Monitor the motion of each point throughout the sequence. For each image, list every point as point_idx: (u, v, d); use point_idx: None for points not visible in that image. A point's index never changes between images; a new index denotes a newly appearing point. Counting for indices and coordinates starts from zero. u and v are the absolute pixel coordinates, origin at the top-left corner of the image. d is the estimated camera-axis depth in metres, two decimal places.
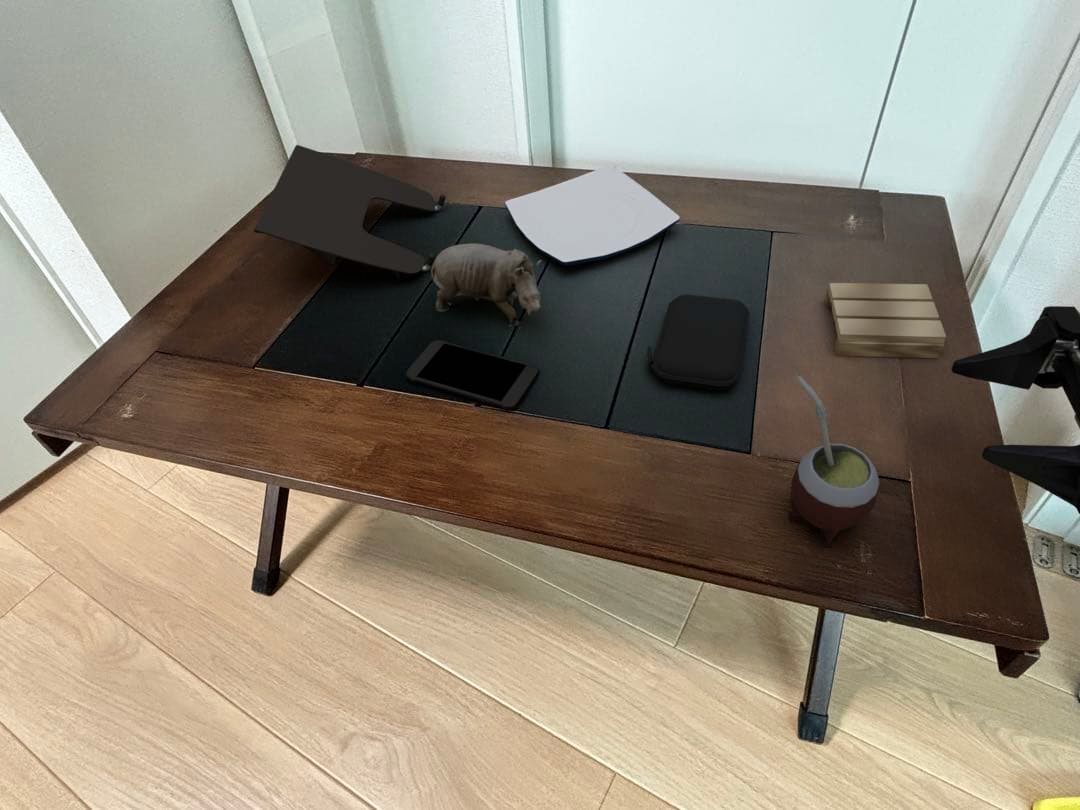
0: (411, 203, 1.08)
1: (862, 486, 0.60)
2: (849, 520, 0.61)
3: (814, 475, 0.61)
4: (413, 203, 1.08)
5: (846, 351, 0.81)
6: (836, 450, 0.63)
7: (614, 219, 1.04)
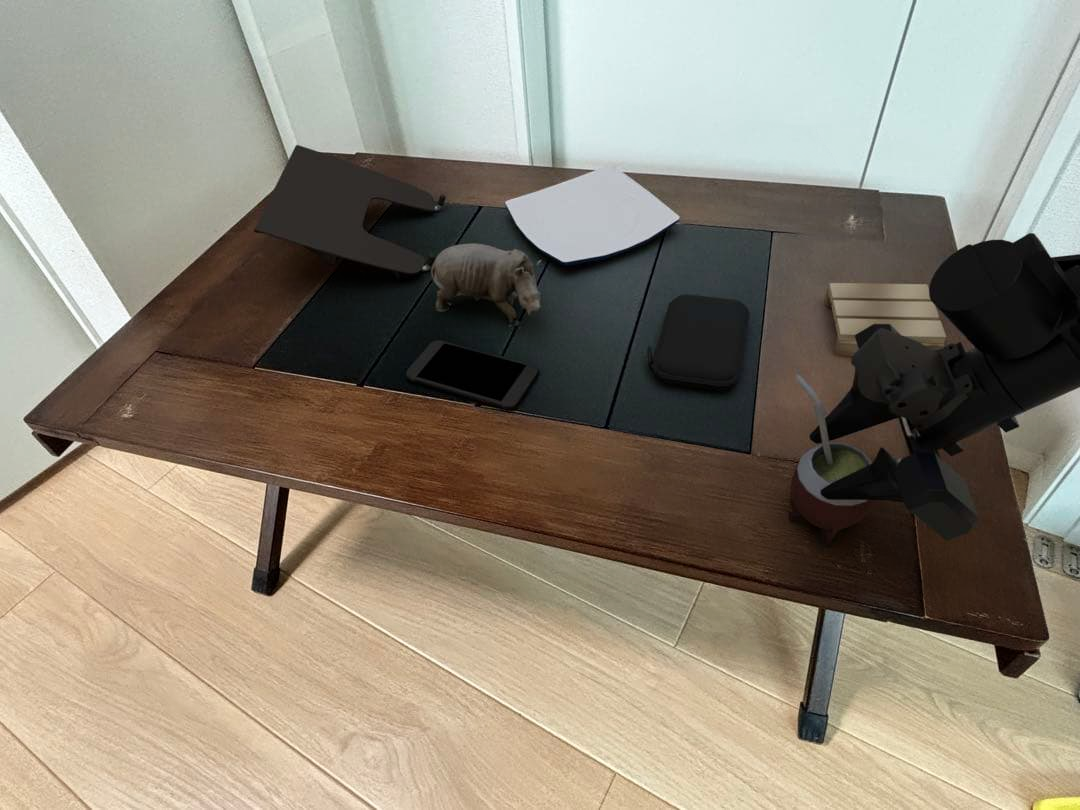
0: (411, 203, 1.08)
1: None
2: (849, 519, 0.61)
3: (813, 473, 0.61)
4: (413, 203, 1.08)
5: (846, 351, 0.81)
6: (835, 449, 0.63)
7: (614, 219, 1.04)
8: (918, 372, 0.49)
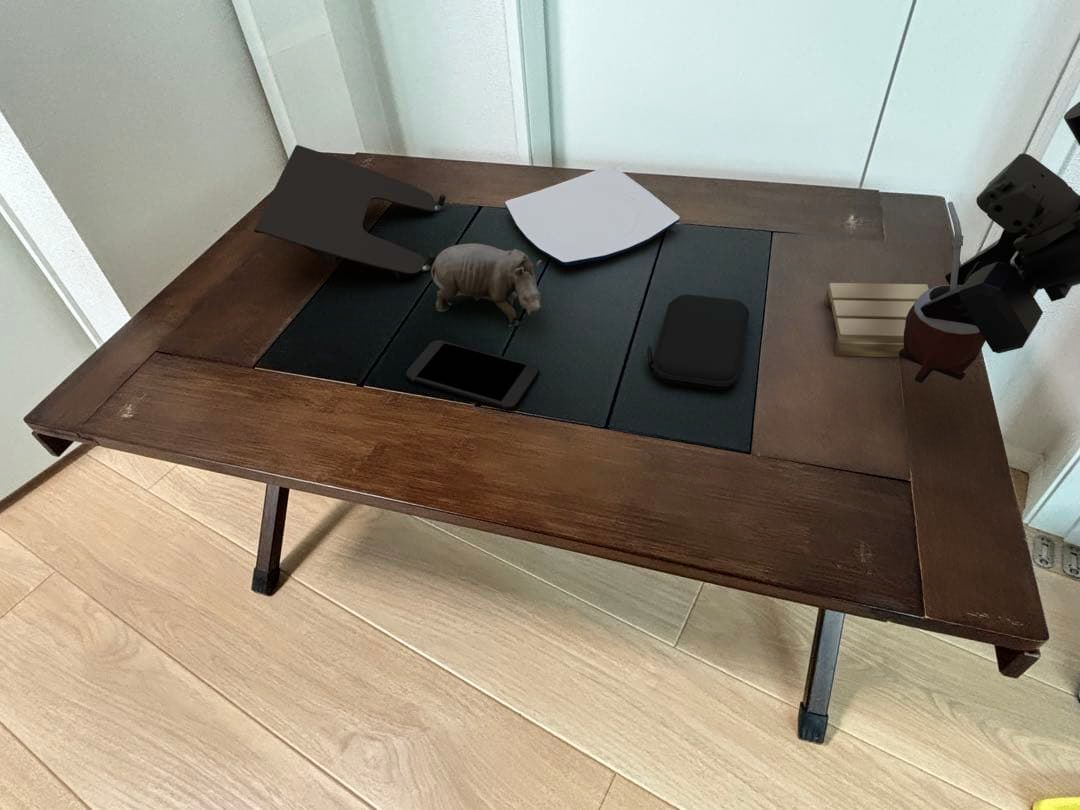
0: (411, 203, 1.08)
1: None
2: (939, 346, 0.66)
3: (926, 297, 0.67)
4: (413, 203, 1.08)
5: (846, 351, 0.81)
6: None
7: (614, 219, 1.04)
8: (1026, 182, 0.54)
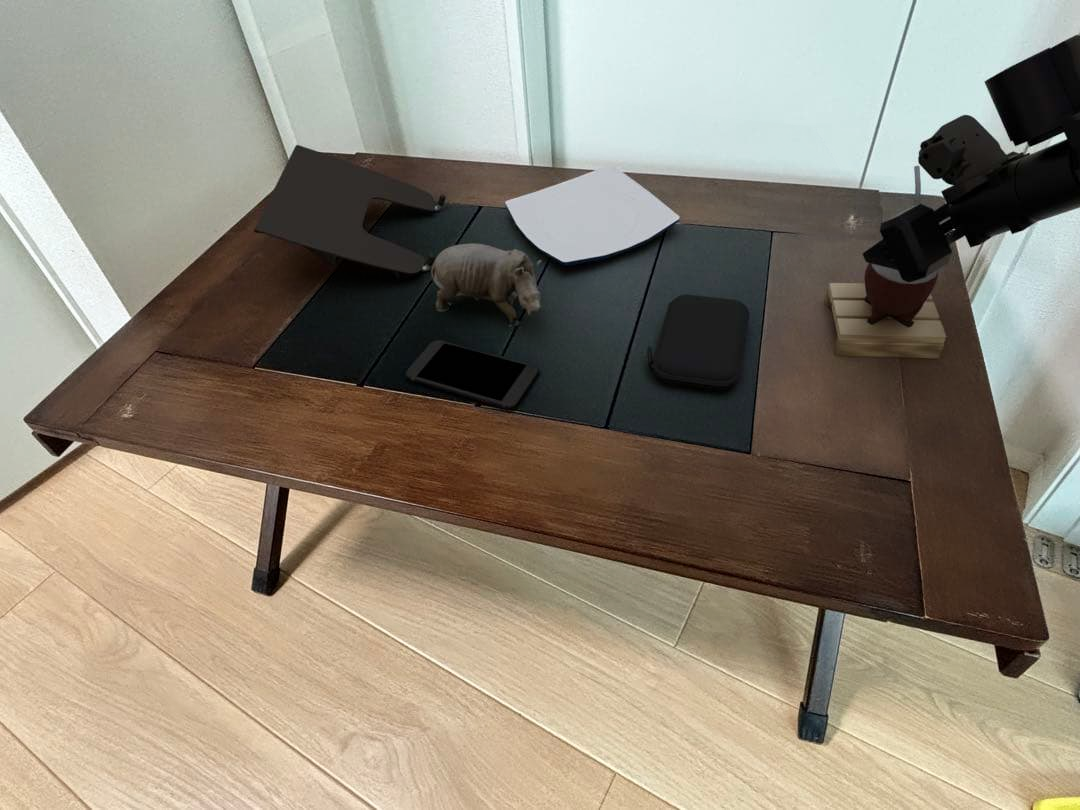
0: (411, 203, 1.08)
1: None
2: (883, 292, 0.76)
3: None
4: (413, 203, 1.08)
5: (846, 351, 0.81)
6: None
7: (614, 219, 1.04)
8: (951, 136, 0.64)
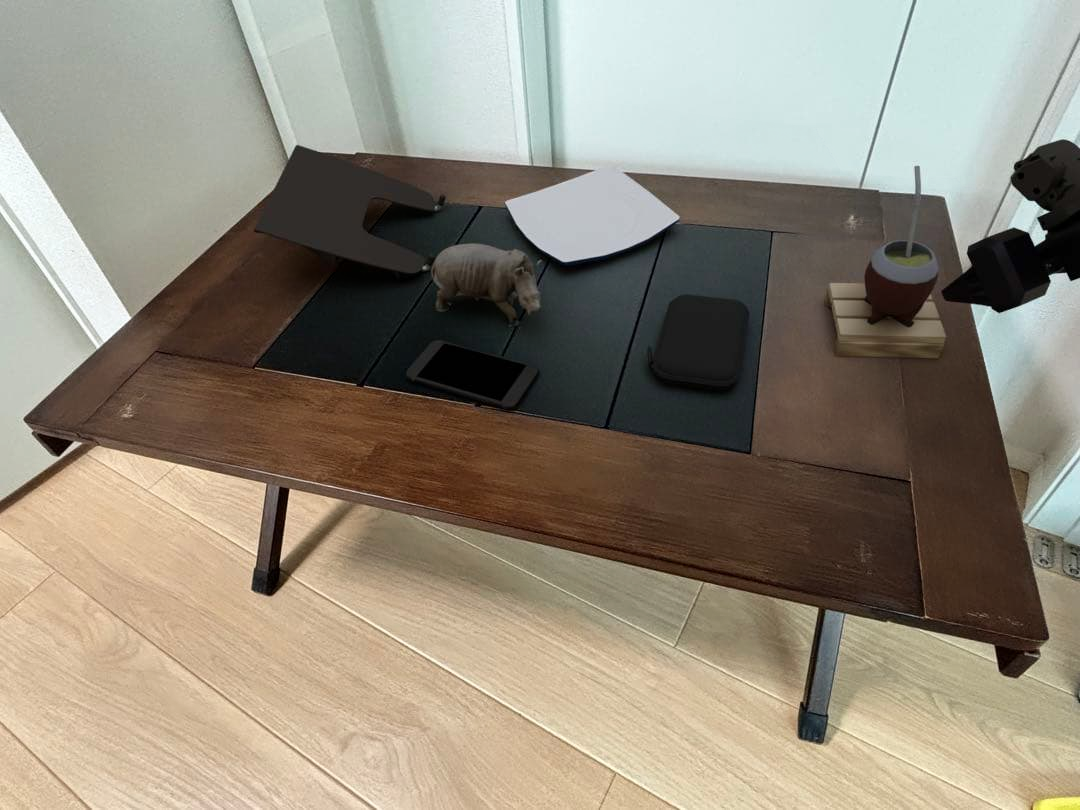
0: (411, 203, 1.08)
1: (905, 267, 0.74)
2: (883, 292, 0.76)
3: (882, 248, 0.77)
4: (413, 203, 1.08)
5: (846, 351, 0.81)
6: (921, 251, 0.77)
7: (614, 219, 1.04)
8: (1051, 154, 0.58)
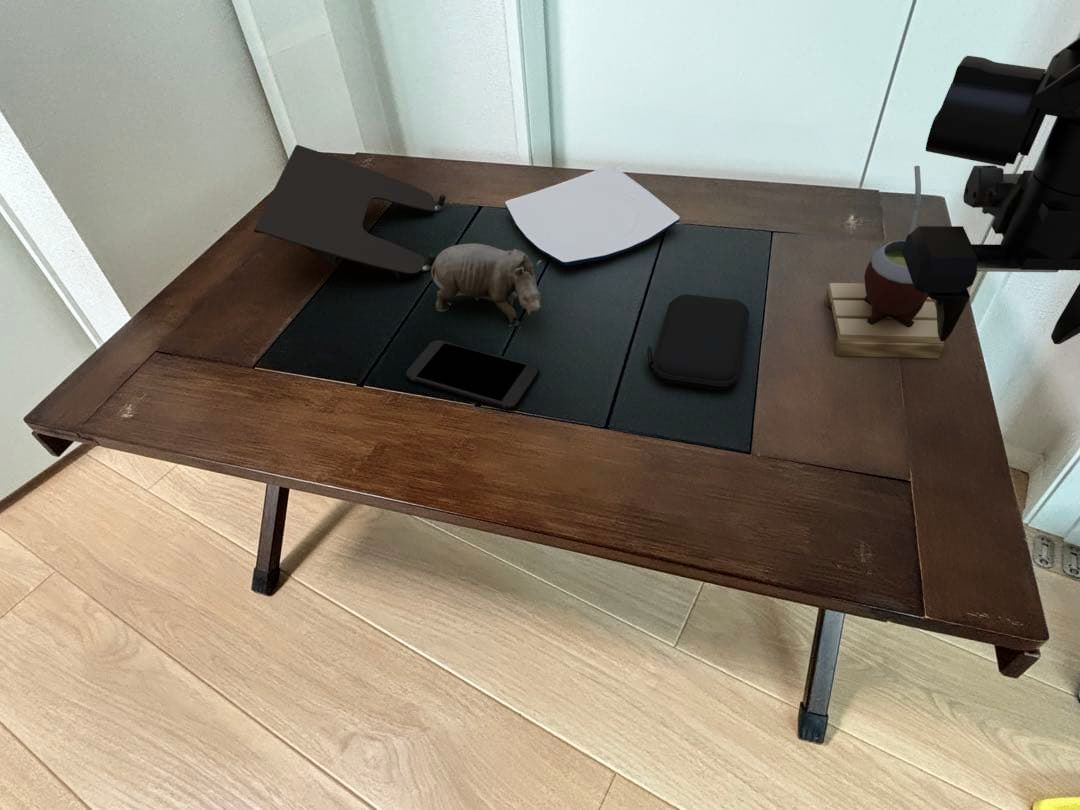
0: (411, 203, 1.08)
1: (905, 267, 0.74)
2: (883, 292, 0.76)
3: (882, 248, 0.77)
4: (413, 203, 1.08)
5: (846, 351, 0.81)
6: None
7: (614, 219, 1.04)
8: None
